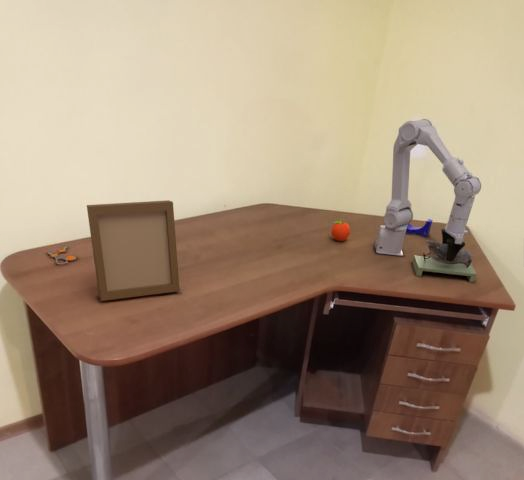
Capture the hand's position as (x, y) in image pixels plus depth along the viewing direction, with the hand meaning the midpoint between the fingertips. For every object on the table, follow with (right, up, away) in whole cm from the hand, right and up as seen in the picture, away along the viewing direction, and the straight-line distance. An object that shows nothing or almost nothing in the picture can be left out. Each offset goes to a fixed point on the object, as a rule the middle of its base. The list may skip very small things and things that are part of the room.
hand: (447, 256), depth 173 cm
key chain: (-124, -2, -10) cm, 125 cm away
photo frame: (-98, -13, -22) cm, 101 cm away
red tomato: (-33, +10, +20) cm, 40 cm away
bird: (0, -3, +2) cm, 3 cm away
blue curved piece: (-2, +15, +33) cm, 37 cm away
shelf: (0, -5, +3) cm, 6 cm away
